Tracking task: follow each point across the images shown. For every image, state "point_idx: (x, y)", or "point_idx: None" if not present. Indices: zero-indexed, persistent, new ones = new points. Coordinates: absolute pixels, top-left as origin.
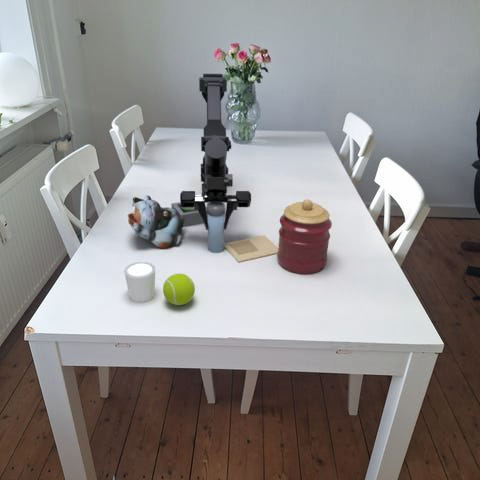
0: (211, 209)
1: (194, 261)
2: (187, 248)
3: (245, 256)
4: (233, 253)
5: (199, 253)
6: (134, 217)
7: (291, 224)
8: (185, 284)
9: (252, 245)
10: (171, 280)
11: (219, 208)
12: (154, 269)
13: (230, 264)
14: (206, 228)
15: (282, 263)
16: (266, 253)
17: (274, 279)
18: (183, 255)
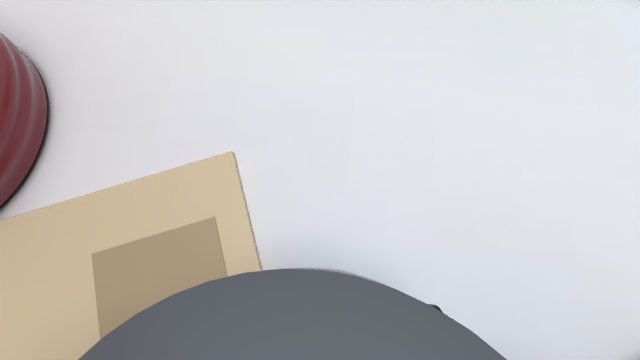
0: (460, 330)
1: (464, 189)
2: (516, 350)
3: (183, 195)
4: (240, 234)
5: (436, 275)
6: None
7: None
8: None
9: (107, 313)
10: None
11: (203, 306)
12: None
13: (276, 142)
14: (436, 307)
15: (28, 74)
16: (65, 214)
17: (118, 17)
18: (533, 262)
